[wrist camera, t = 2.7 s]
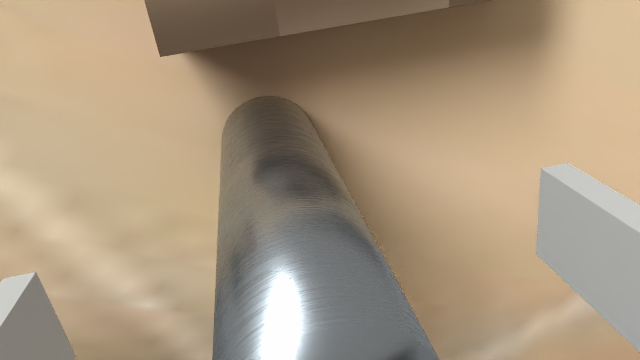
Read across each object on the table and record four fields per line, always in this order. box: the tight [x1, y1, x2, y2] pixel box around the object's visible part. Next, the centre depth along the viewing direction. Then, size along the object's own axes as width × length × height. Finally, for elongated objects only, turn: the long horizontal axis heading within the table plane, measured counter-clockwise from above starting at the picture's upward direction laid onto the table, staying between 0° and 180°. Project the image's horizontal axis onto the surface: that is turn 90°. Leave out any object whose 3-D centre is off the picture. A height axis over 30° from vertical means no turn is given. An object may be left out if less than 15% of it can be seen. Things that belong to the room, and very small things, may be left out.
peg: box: [212, 96, 439, 360], centre depth 15 cm, size 4×4×15 cm
